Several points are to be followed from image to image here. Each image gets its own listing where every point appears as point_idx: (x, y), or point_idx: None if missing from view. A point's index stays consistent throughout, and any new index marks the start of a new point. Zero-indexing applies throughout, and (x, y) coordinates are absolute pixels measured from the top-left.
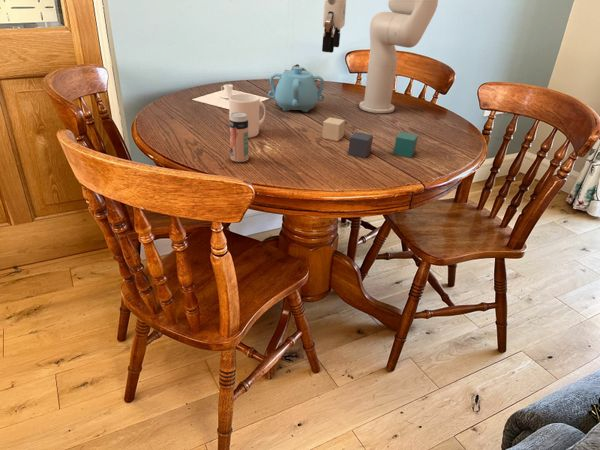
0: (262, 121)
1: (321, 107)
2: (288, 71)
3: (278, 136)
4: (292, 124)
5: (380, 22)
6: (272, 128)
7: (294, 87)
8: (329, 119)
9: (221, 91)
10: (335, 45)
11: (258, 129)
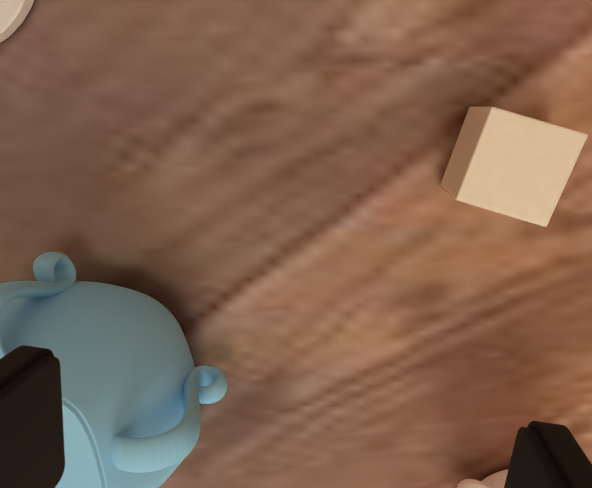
0: (472, 483)
1: (63, 248)
2: None
3: (527, 390)
4: (356, 351)
5: None
6: (430, 422)
7: (193, 444)
8: (498, 197)
9: None
10: (51, 399)
11: None
